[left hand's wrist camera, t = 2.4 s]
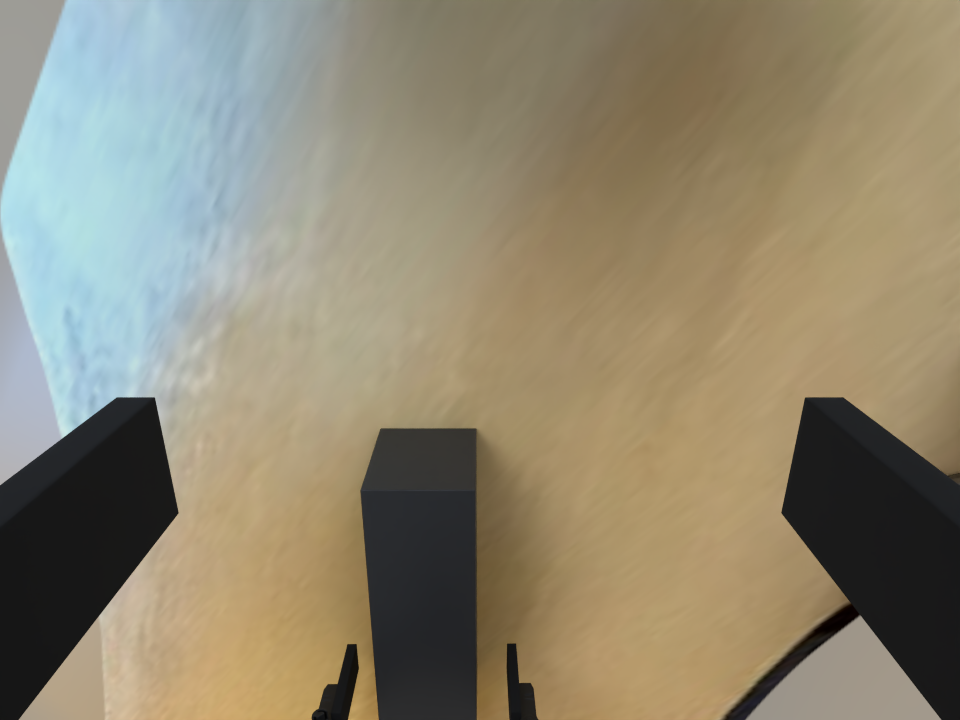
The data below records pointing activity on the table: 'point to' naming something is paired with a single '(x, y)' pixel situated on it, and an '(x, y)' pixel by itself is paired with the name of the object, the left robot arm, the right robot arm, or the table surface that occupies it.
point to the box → (423, 572)
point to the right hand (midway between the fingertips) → (432, 655)
